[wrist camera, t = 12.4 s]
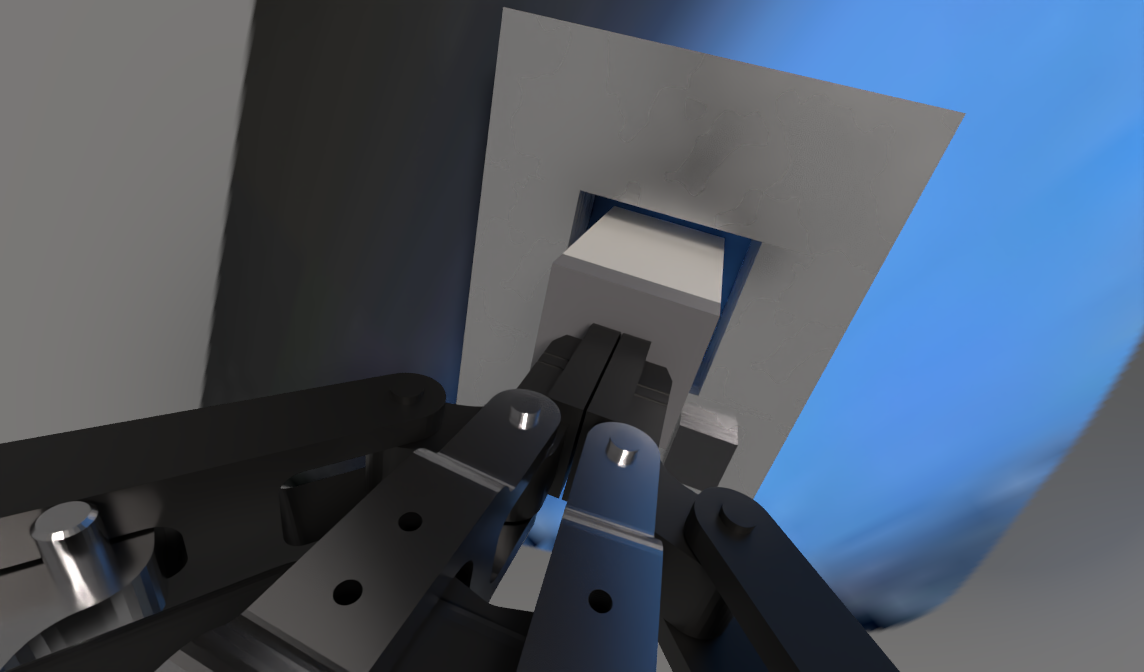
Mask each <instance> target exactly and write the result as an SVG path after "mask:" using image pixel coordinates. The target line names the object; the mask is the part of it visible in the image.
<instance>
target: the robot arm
mask: <svg viewBox="0 0 1144 672" xmlns="http://www.w3.org/2000/svg"><path fill="white" fill-rule="evenodd" d="M620 336H621V332H620V331H617V330H614V329H611V328H608V327H605V326H602V325H599V324H596V323H593V324H592V325H591V327H590V328H589V330H588V332H587V333H586V335H585V336H584V338H583V340H582V339H579V338H576V337H573V336H570V335H564V336H562V337H560V338H558V339H555V340H553V341H552V342H551V343H550V344H549V346H548V347H547V348H546V350H545V351H544V353H543V354H542V355H541V357H540V358H539V359H538V362H536V363H535V365H534V366H533V367H532V369H531V370H530V371H529V373H528V374H527V375H526V377H525V378H524V379H523V381H522V382H521V383H520V385H519V386H518V387H517V389H510V390H505V391H502V392H500V393H498V394H496V395H495V396H494V397H492V398H491V399H490V401H489V402H488V403H487V404H486V405H485V406H466V405H458V404H450V403H445V400H446V394H445V390H444V388H443V387H442V386H441V385H440V384H439V383H438V382H437V381H435V380H434V379H432V378H430V377H427V376H424V375H420V374H415V373H397V374H391V375H385V376H379V377H374V378H368V379H363V380H357V381H351V382H346V383H340V384H334V385H329V386H323V387H317V388H312V389H306V390H301V391H295V392H289V393H284V394H278V395H272V396H267V397H261V398H256V399H250V400H244V401H239V402H233V403H227V404H222V405H216V406H210V407H205V408H199V409H194V410H188V411H182V412H177V413H171V414H165V415H160V416H154V417H149V418H143V419H138V420H132V421H127V422H121V423H115V424H109V425H104V426H99V427H93V428H87V429H81V430H75V431H70V432H64V433H58V434H53V435H47V436H42V437H36V438H31V439H25V440H19V441H13V442H8V443H2V444H0V672H656V663H657V647H658V642H659V645H660V646H661V649H662V651H663V653H664V655H665V657H666V659H667V661H668V663H669V665H670V667H671V669H672V671H673V672H900V671H899V670H898V669H897V668H896V667H895V665H894V664H893V663H892V662H891V661H890V659H889V658H888V657H887V656H886V654H885V653H884V652H883V651H882V650H881V648H880V647H879V646H878V645H877V644H876V643H875V641H874V640H873V639H872V638H871V636H870V635H869V634H868V633H867V632H866V630H865V629H864V628H863V627H862V626H861V624H860V623H859V622H858V621H857V620H856V618H855V617H854V616H853V615H852V614H851V612H850V611H849V610H848V609H847V608H846V606H845V605H844V604H843V603H842V602H841V600H840V599H839V598H838V597H837V596H836V594H835V593H834V592H833V591H832V589H831V588H830V587H829V586H828V585H827V583H826V582H825V581H824V580H823V579H822V577H821V576H820V575H819V574H818V573H817V571H816V570H815V569H814V568H813V567H812V565H811V564H810V563H809V562H808V561H807V559H806V558H805V557H804V556H803V555H802V553H801V552H800V551H799V550H798V549H797V547H796V546H795V545H794V544H793V543H792V541H791V540H790V539H789V538H788V537H787V535H786V534H785V533H784V532H783V531H782V529H781V528H780V527H779V526H778V525H777V523H776V522H775V521H774V520H773V519H772V517H771V516H770V515H769V514H768V513H767V511H766V510H765V509H764V508H763V507H762V506H761V505H759V504H758V503H757V502H756V501H754V500H753V499H752V498H750V497H748V496H747V495H745V494H743V493H741V492H738V491H736V490H733V489H729V488H724V487H711V488H707V489H705V490H703V491H701V492H700V493H699V494H697V493H695V492H693V491H692V490H690V489H689V488H687V487H686V486H684V485H683V484H681V483H680V482H679V481H677V480H676V479H675V478H674V477H673V476H672V475H671V474H670V473H669V472H668V471H667V470H666V468H665V467H664V465H663V463H662V461H661V459H660V452H659V444H660V439H661V434H662V429H663V425H664V420H665V415H666V410H667V405H668V401H669V395H670V391H671V387H672V382H673V381H672V379H671V377H670V375H669V372H668V370H667V368H666V367H663V366H660V365H657V364H654V363H651V362H648V361H645V360H646V357H647V354H648V351H649V348H650V345H651V341H648V340H645V339H642V338H639V337H635V336H632V335H629V334H626V333H623V334H622V336H621V339H620ZM619 340H620V341H619ZM364 455H366V467H365V468H361V469H358V470H354V471H351V472H347V473H343V474H340V475H336V476H333V477H329V478H325V479H322V480H318V481H315V482H311V483H307V484H304V485H300V486H297V487H293V488H287V489H281V486H282V485H283V483H284V482H285V481H286V480H288V479H289V478H290V477H292V476H294V475H295V474H298V473H300V472H303V471H307V470H311V469H315V468H319V467H322V466H326V465H330V464H334V463H337V462H341V461H345V460H349V459H353V458H356V457H360V456H364ZM567 478H568V479H567ZM566 480H567V482H566ZM565 483H566V486H565V490H564V493H563V497H562V500H565V501H567V504H566V507H565V510H564V514H563V517H562V520H561V524H560V527H559V530H558V534H557V537H556V540H555V544H554V547H553V550H552V554H551V557H550V561H549V564H548V567H547V571H546V574H545V577H544V581H543V584H542V587H541V591H540V594H539V597H538V600H537V604H536V607H535V611H534V612H529V611H523V610H516V609H510V608H503V607H498V606H494V605H491V604H489V601H490V599H491V597H492V595H493V594H494V592H495V590H496V588H497V587H498V585H499V583H500V581H501V580H502V578H503V576H504V575H505V573H506V571H507V569H508V568H509V566H510V564H511V563H512V561H513V559H514V557H515V556H516V554H517V552H518V550H519V549H520V547H521V545H522V544H523V542H524V540H525V539H526V537H527V535H528V533H529V532H530V530H531V528H532V526H533V525H534V522H535V519H536V515H537V512H538V511H539V510H540V508H541V507H542V505H543V503H544V500H545V498H546V496H547V494H549V495H551V496H554V497H556V498H559V496H560V494H561V492H562V489H563V487H564V485H565Z"/></svg>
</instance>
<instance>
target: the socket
mask: <svg viewBox="0 0 1144 672" xmlns="http://www.w3.org/2000/svg"><path fill="white" fill-rule="evenodd" d="M965 114H966V113H961V112H957V111H953V110H948V109H944V108H940V107H935V106H931V105H926V104H922V103H918V102H913V101H909V100H905V99H900V98H896V97H892V96H887V95H883V94H879V93H874V92H870V91H866V90H861V89H857V88H853V87H848V86H844V85H840V84H835V83H831V82H827V81H822V80H818V79H814V78H809V77H805V76H801V75H796V74H792V73H787V72H783V71H779V70H774V69H770V68H766V67H761V66H757V65H753V64H748V63H744V62H740V61H735V60H731V59H727V58H722V57H718V56H714V55H709V54H705V53H701V52H696V51H692V50H688V49H683V48H679V47H675V46H670V45H666V44H661V43H657V42H653V41H648V40H644V39H640V38H635V37H631V36H627V35H622V34H618V33H614V32H609V31H605V30H601V29H596V28H592V27H588V26H583V25H579V24H575V23H570V22H566V21H562V20H557V19H553V18H549V17H544V16H540V15H536V14H531V13H527V12H522V11H518V10H514V9H509V8H505V7H503V14H502V23H501V31H500V39H499V48H498V56H497V65H496V73H495V82H494V90H493V98H492V107H491V115H490V124H489V132H488V141H487V149H486V157H485V166H484V174H483V183H482V191H481V200H480V208H479V216H478V225H477V233H476V242H475V250H474V259H473V267H472V275H471V284H470V292H469V301H468V309H467V318H466V326H465V334H464V343H463V351H462V360H461V368H460V376H459V385H458V393H457V402H456V404H458V405H466V406H485V405H486V404H487V403H488V402H489V401H490V399H491V398H492V397H494V396H495V395H496V394H498V393H500V392H502V391H505V390H510V389H517V387H518V386H519V385H520V383H521V382H522V381H523V379H524V378H525V377H526V375H527V374H528V373H529V371H530V368H531V363H532V358H533V353H534V348H535V344H536V339H537V334H538V329H539V324H540V320H541V315H542V310H543V305H544V300H545V296H546V291H547V286H548V281H549V276H550V271H551V267H552V263H553V262H554V261H555V260H556V259H557V258H558V257H559V256H560V255H562V254H563V253H564V252H565V251H566V250H567V249H568V248H569V247H570V246H571V245H572V244H574V243H575V242H576V241H577V240H578V239H579V238H580V237H581V236H582V235H583V234H584V233H586V232H587V229H588V224H589V220H590V216H591V211H592V207H593V203H594V198H595V195H599V196H602V197H606V198H609V199H613V200H616V201H620V202H623V203H627V204H631V205H634V206H638V207H641V208H645V209H648V210H652V211H655V212H659V213H662V214H666V215H669V216H673V217H676V218H680V219H683V220H687V221H690V222H694V223H697V224H701V225H704V226H708V227H711V228H715V229H718V230H722V231H725V232H729V233H732V234H736V235H739V236H743V237H746V238H750V239H752V240H751V243H750V245H749V248H748V250H747V253H746V255H745V258H744V260H743V263H742V265H741V268H740V270H739V273H738V275H737V278H736V280H735V282H734V285H733V287H732V290H731V292H730V295H729V297H728V300H727V302H726V305H725V307H724V310H723V312H722V315H721V317H720V320H719V322H718V325H717V327H716V330H715V332H714V335H713V337H712V340H711V342H710V345H709V347H708V349H707V352H706V354H705V357H704V359H703V362H701V364H700V366H699V369H698V371H697V374H696V376H695V379H694V381H693V384H692V386H691V389H690V391H689V393H688V396H687V398H686V401H685V403H684V406H683V408H682V411H681V413H680V415H679V418H678V420H677V423H676V425H675V428H674V430H673V433H672V435H671V437H670V440H669V442H668V445H667V447H666V450H665V449H662V448H659V452H660V459H661V461H662V463H663V465H664V467H665V468H666V470H667V471H668V472H669V473H670V474H671V475H672V476H673V477H674V478H675V479H676V480H677V481H679V482H680V483H681V484H683V485H684V486H686V487H687V488H689V489H690V490H692V491H693V492H695V493H697V494H699V493H700V492H701V491H703V490H705V489H707V488H711V487H724V488H729V489H733V490H736V491H738V492H741V493H743V494H745V495H747V496H748V497H750V498H752V499H753V498H754V496H755V495H756V493H757V491H758V489H759V487H760V486H761V484H762V482H763V480H764V478H765V476H766V475H767V473H768V471H769V469H770V467H771V466H772V464H773V462H774V460H775V458H776V457H777V455H778V453H779V451H780V449H781V447H782V446H783V444H784V442H785V440H786V438H787V437H788V435H789V433H790V431H791V429H792V428H793V426H794V424H795V422H796V420H797V418H798V417H799V415H800V413H801V411H802V409H803V408H804V406H805V404H806V402H807V400H808V399H809V397H810V395H811V393H812V391H813V389H814V388H815V386H816V384H817V382H818V380H819V379H820V377H821V375H822V373H823V371H824V370H825V368H826V366H827V364H828V362H829V360H830V359H831V357H832V355H833V353H834V351H835V350H836V348H837V346H838V344H839V342H840V341H841V339H842V337H843V335H844V333H845V331H846V330H847V328H848V326H849V324H850V322H851V321H852V319H853V317H854V315H855V313H856V312H857V310H858V308H859V306H860V304H861V302H862V301H863V299H864V297H865V295H866V293H867V292H868V290H869V288H870V286H871V284H872V283H873V281H874V279H875V277H876V275H877V273H878V272H879V270H880V268H881V266H882V264H883V263H884V261H885V259H886V257H887V255H888V254H889V252H890V250H891V248H892V246H893V244H894V243H895V241H896V239H897V237H898V235H899V234H900V232H901V230H902V228H903V226H904V225H905V223H906V221H907V219H908V217H909V215H910V214H911V212H912V210H913V208H914V206H915V205H916V203H917V201H918V199H919V197H920V196H921V194H922V192H923V190H924V188H925V186H926V185H927V183H928V181H929V179H930V177H931V176H932V174H933V172H934V170H935V168H936V167H937V165H938V163H939V161H940V159H941V157H942V156H943V154H944V152H945V150H946V148H947V147H948V145H949V143H950V141H951V139H952V138H953V136H954V134H955V132H956V130H957V128H958V127H959V125H960V123H961V121H962V119H963V118H964V116H965Z"/></svg>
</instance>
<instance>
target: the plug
mask: <svg viewBox="0 0 1144 672" xmlns="http://www.w3.org/2000/svg"><path fill="white" fill-rule="evenodd" d="M724 242H725V238H722V237H719V236H716V235H712V234H709V233H705V232H702V231H699V230H695V229H692V228H688V227H685V226H681V225H678V224H675V223H671V222H668V221H664V220H661V219H658V218H654V217H651V216H647V215H644V214H640V213H637V212H634V211H630V210H627V209H623V208H620V207H617V206H614V207H613V208H612V209H611V210H609V211H608V212H607V213H606V214H605V215H604V216H603V217H602V218H601V219H600V220H599V221H597V222H596V223H595V224H594V225H593V226H592V227H591V228H590V229H589V230H588V231H587V232H586V233H584V234H583V235H582V236H581V237H580V238H579V239H578V240H577V241H576V242H575V243H574V244H572V245H571V246H570V247H569V248H568V249H567V250H566V251H565V252H564V253H563V254H562V255H560V256H559V257H558V258H557V259H556V260H555V261H554V262H553V263H552V267H551V271H550V276H549V281H548V286H547V291H546V296H545V300H544V305H543V310H542V315H541V320H540V324H539V329H538V334H537V339H536V344H535V348H534V353H533V358H532V363H531V368H530V370H531V369H532V367H533V366H534V365H535V363H536V362H538V359H539V358H540V357H541V355H542V354H543V353H544V351H545V350H546V348H547V347H548V346H549V344H550V343H551V342H552V341H553V340H555V339H558V338H560V337H562V336H564V335H570V336H573V337H576V338H579V339H582V340H583V338H584V336H585V335H586V333H587V332H588V330H589V328H590V327H591V325H592V324H593V323H596V324H599V325H602V326H605V327H608V328H611V329H614V330H617V331H620V332H621V336H622V334H623V333H626V334H629V335H632V336H635V337H639V338H642V339H645V340H648V341H651V345H650V348H649V351H648V354H647V357H646V360H645V361H648V362H651V363H654V364H657V365H660V366H663V367H666V368H667V370H668V372H669V375H670V377H671V379H672V381H673V382H672V387H671V391H670V395H669V401H668V405H667V410H666V415H665V420H664V425H663V429H662V434H661V439H660V444H659V448H662V449H665V450H666V447H667V445H668V442H669V440H670V437H671V435H672V433H673V430H674V428H675V425H676V423H677V420H678V418H679V415H680V413H681V411H682V408H683V406H684V403H685V401H686V398H687V396H688V393H689V391H690V389H691V386H692V384H693V381H694V379H695V376H696V374H697V371H698V369H699V366H700V364H701V362H702V359H703V357H704V354H705V352H706V349H707V347H708V344H709V342H710V340H711V337H712V335H713V332H714V330H715V327H716V325H717V322H718V320H719V318H720V308H721V291H722V275H723V258H724ZM621 336H620V339H621ZM619 341H620V340H619Z"/></svg>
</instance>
